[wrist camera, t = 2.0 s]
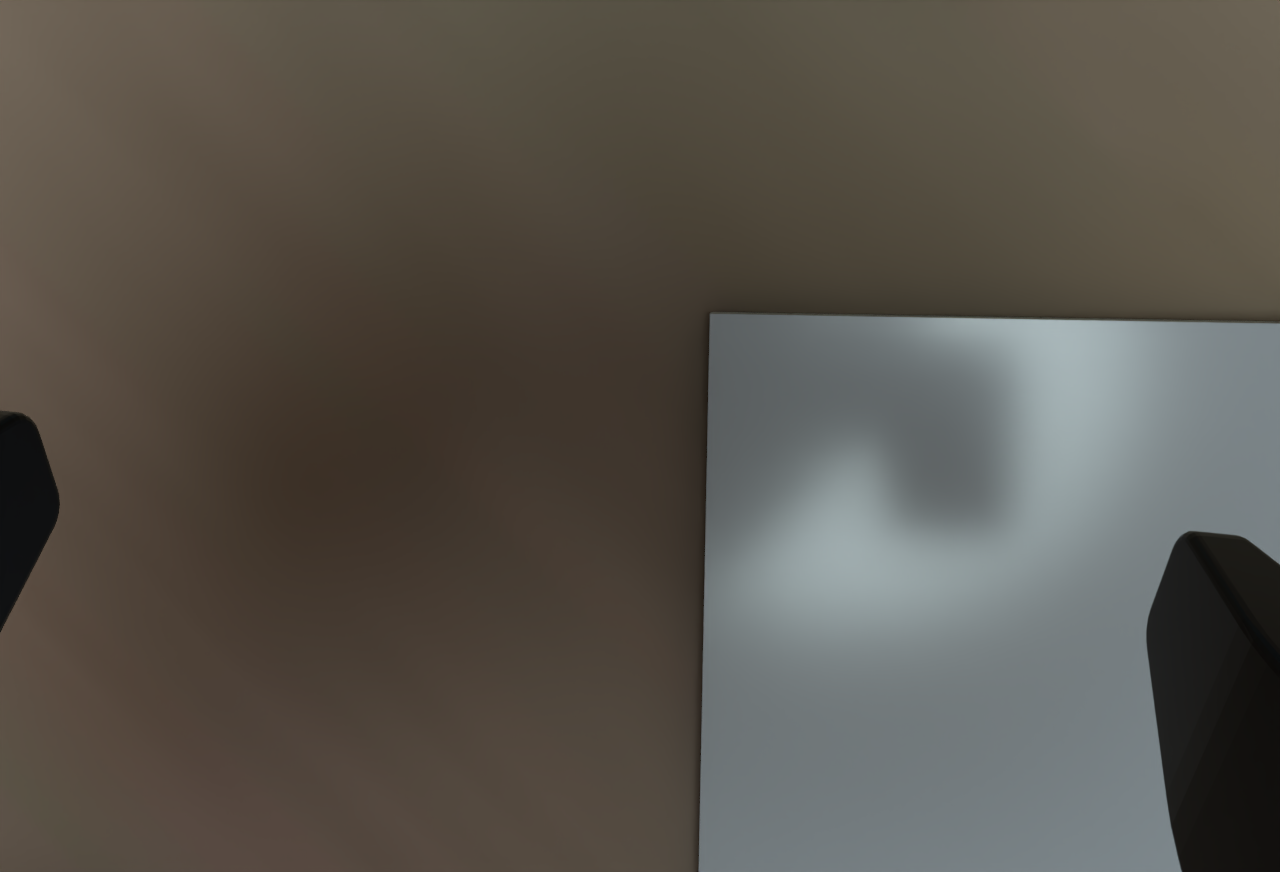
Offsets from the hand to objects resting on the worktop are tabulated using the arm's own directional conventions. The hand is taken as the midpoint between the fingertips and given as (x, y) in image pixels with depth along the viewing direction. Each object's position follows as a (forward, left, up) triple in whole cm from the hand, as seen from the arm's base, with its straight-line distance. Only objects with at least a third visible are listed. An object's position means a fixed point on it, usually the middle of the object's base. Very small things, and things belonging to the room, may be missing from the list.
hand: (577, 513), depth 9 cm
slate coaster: (+6, -5, -11) cm, 13 cm away
